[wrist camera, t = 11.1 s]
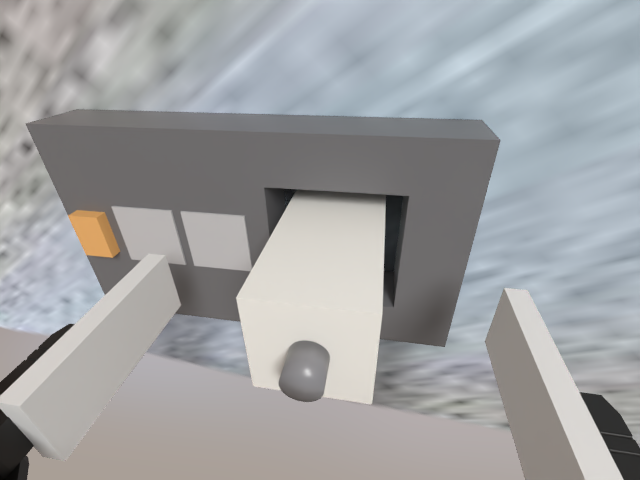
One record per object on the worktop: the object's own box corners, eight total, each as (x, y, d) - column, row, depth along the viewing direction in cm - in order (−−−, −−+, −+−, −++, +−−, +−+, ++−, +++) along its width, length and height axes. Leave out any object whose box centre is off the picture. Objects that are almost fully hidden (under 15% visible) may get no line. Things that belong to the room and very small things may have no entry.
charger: (386, 186, 17) (381, 347, 9) (379, 258, 20) (370, 439, 11) (300, 182, 18) (219, 327, 9) (304, 251, 20) (241, 417, 12)
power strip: (482, 120, 15) (505, 145, 12) (438, 307, 21) (446, 356, 18) (76, 109, 18) (13, 127, 15) (139, 275, 24) (103, 312, 21)
